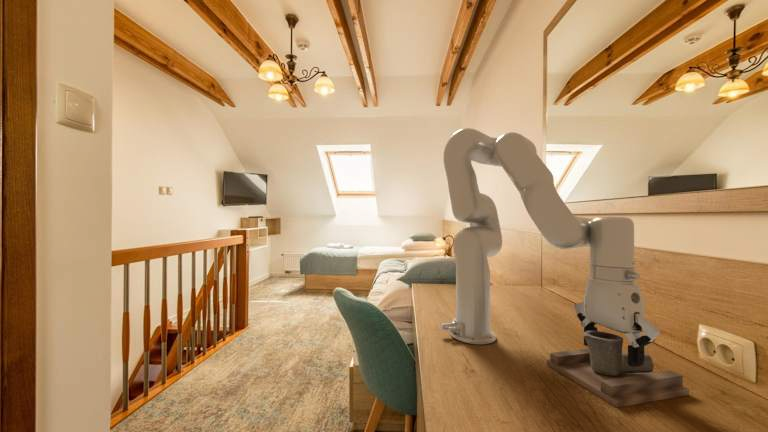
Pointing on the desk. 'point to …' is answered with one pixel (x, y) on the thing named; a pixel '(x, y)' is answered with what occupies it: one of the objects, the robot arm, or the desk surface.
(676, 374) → the cradle
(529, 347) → the desk surface
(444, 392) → the desk surface
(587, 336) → the pipe
